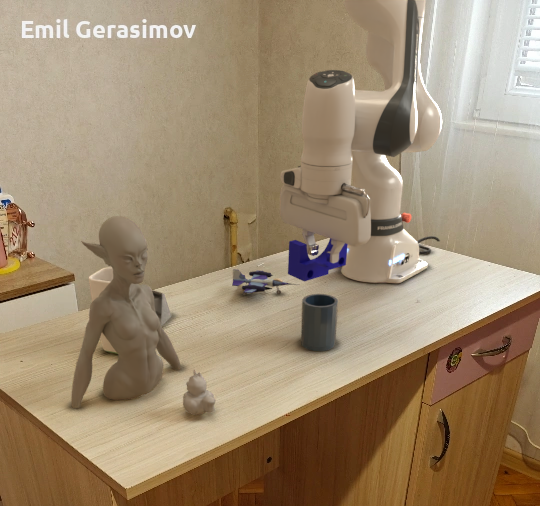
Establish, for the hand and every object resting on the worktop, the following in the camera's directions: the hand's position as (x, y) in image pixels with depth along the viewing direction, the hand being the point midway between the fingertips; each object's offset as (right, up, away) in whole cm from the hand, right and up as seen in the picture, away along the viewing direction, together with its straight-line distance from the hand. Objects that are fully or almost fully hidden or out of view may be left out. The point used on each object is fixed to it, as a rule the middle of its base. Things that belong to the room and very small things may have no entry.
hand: (322, 258), depth 133 cm
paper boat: (-35, -6, +21) cm, 41 cm away
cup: (-39, -16, +8) cm, 42 cm away
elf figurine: (-33, -26, -7) cm, 42 cm away
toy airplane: (-11, +2, +32) cm, 34 cm away
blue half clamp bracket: (0, -2, +1) cm, 3 cm away
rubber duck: (-21, -30, -12) cm, 39 cm away
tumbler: (0, -14, +10) cm, 17 cm away
